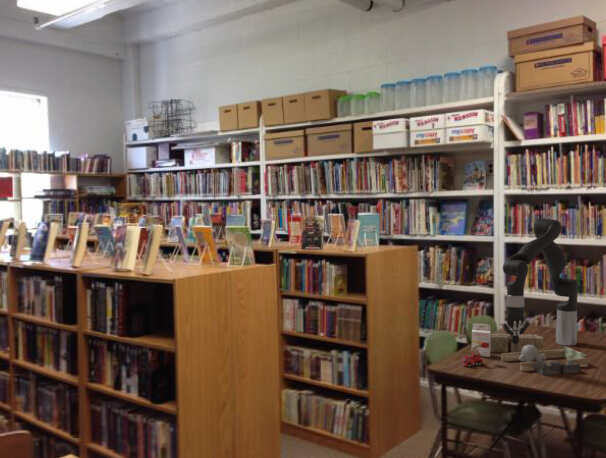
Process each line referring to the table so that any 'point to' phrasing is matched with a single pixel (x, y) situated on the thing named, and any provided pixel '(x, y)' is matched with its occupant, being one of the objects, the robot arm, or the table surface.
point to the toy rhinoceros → (532, 355)
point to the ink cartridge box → (481, 338)
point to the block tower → (505, 344)
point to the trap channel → (553, 367)
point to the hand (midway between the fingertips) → (515, 343)
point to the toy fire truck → (476, 357)
